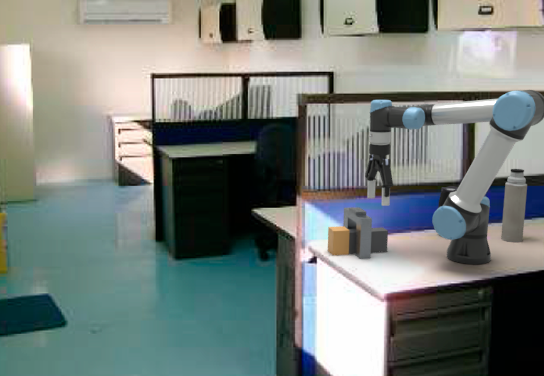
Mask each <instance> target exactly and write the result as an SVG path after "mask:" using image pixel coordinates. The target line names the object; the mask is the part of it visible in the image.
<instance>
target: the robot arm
mask: <svg viewBox="0 0 544 376" xmlns="http://www.w3.org/2000/svg"><path fill="white" fill-rule="evenodd" d="M543 120H544V95H543V94H541V93H540V92H539V91H536V90H534V89H526V90H525V89H524V90H512V91H508V92H506V93H505V94H502V95H501V96H499V97H498V98H491V99H489V98H488V99H479V100H467V101H456V102H443V103H433V104H432V103H431V104H428V103H427V104H421V105H413V106H393V101H391V100H389V99H373V100H371V102H370V108H369V134H368V138H369V142H370V143H369V145H368V154H369V155H368V162H367V166H366V167H367V168H366V171H365V178H366V180H367V199H375V198H376V180H377V177H376V176H377V174H378V172H379V176H380V178H381V183H382V186H381V206H382V207H383V206H387V207H388V206H390V204H391V203H390V198H391V196H390V194H391V188H392V187H393V186H394V181H393V176H392V170H391V168H392V167H391V159H390V158H387V156H389V155H390V154H391V145H390V143H391V142H392V128H393V129H394V128H395V129H402V130H404V129H405V130H411V131H412V130H420V129H422V127H429V126H439V125H442V126H443V125H458V124H459V125H460V124H475V123H488V126H489V128H490V131H489V132H488V134H487V136H486V137H485V139H484V141H483V143H482V145H480V146H481V147H480V149H479V150H478V152H477V153H476V155H475V157H474V159H473V161H472V162H471V165H470V166H469V168H468V170H467V172H466V174H465V175H464V176H463V178H462V180H461V182H460V184H459V185H458V186H457V187H458V189H457V191H455V192H451V193H450V194H449V196H448V197H447V199H446V201H445V203H444V205H443V206H441V207H439V208H438V207H437V209H436V210H435V211H434V212H433V215H432V218H431V219H432V221H431V222H432V225H433V228H434V231H435V232H436V233H437V235H439V236H440V237H441V238H443V239H446V240H448V241H449V240H450V243H449V245H448V247H447V249H446V258H447V259H448V260H450V261H453V262H455V263H459V264H467V265H483V264H487V263H488V264H489V263H490V262H491V260H492V253H491V249H490V246H489V241H488V231H489V218H490V217H489V216H490V208H491V206H490V205H491V204H490V199H489V197H487V196H486V194H487V192H488V191H489V189H490V187H491V185H492V184H493V182H494V180H495V179H496V177H497V175H498V174H499V172H500V171H501V169H502V167H503V165H504V163H505V161H506V159H507V158H508V157H509V155H510V153H511V151H512V149H513V148H514V147H515V144H516V143H517V142H521V141H523V140H524V139H525V137H526V135H527V134H528V132H529V131H530V128H531V127H532V126H536V125H538V124H540V123H541V122H542V121H543Z"/></svg>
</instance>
